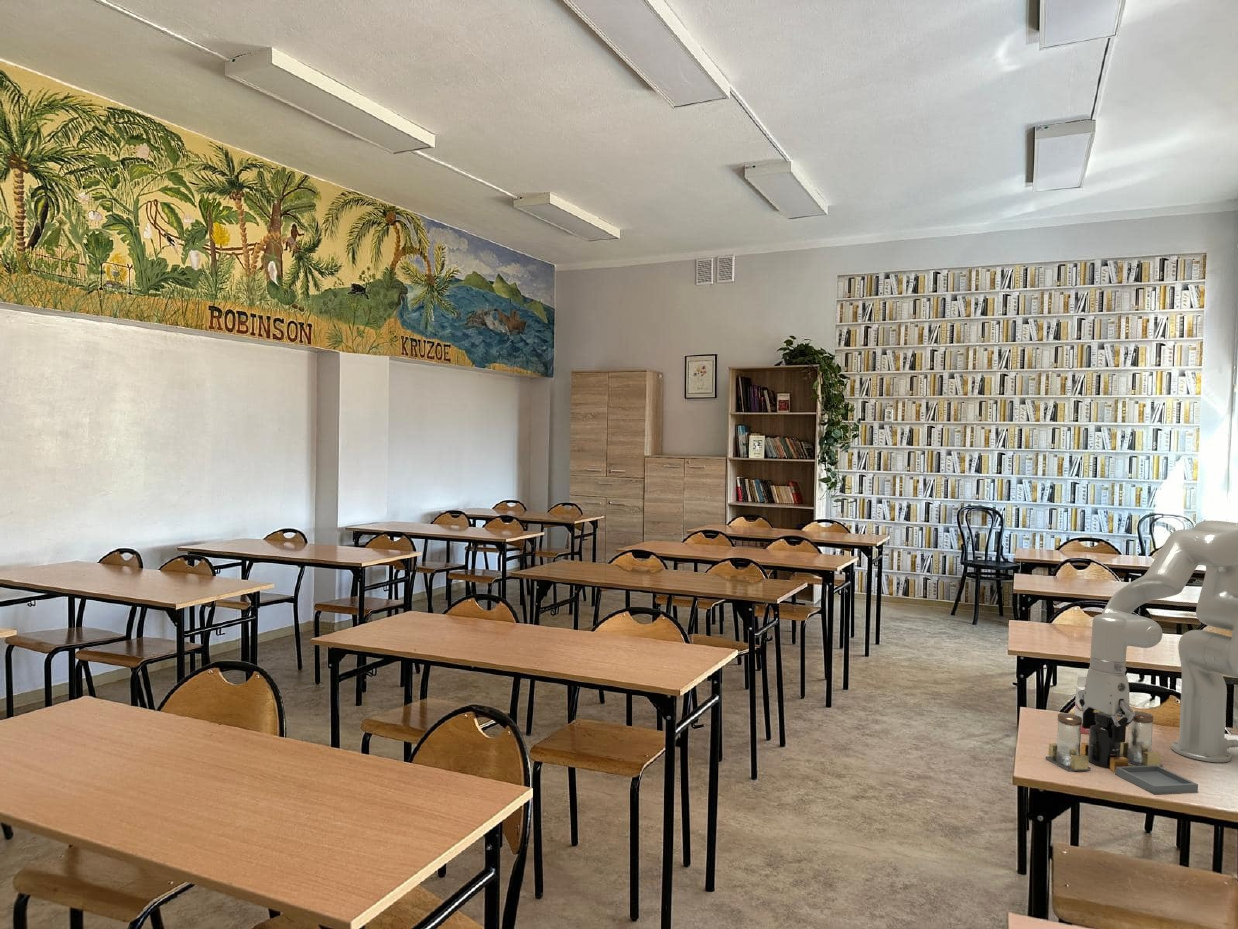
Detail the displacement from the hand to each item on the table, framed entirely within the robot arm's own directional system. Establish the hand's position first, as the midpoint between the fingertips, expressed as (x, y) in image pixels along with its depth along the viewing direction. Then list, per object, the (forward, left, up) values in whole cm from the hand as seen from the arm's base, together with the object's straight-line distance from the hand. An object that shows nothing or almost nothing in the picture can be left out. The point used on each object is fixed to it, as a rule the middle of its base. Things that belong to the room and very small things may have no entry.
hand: (1103, 735), depth 204 cm
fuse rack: (-1, 0, -7) cm, 7 cm away
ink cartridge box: (-16, -21, -7) cm, 27 cm away
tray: (-4, +12, -7) cm, 15 cm away
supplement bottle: (-1, 0, -7) cm, 7 cm away
